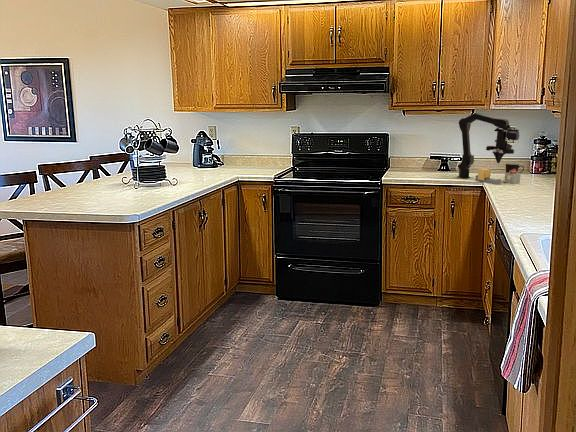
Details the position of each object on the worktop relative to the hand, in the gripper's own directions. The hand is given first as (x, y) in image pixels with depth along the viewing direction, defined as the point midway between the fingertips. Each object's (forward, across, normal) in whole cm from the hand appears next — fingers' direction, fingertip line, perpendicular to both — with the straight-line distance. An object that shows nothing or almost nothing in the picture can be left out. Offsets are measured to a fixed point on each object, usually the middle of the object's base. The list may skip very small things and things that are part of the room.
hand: (498, 163), depth 383 cm
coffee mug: (+12, +4, -20) cm, 23 cm away
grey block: (+12, -8, -6) cm, 15 cm away
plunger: (+10, -8, -6) cm, 14 cm away
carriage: (+11, +3, +8) cm, 14 cm away
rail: (+12, -1, +8) cm, 15 cm away
